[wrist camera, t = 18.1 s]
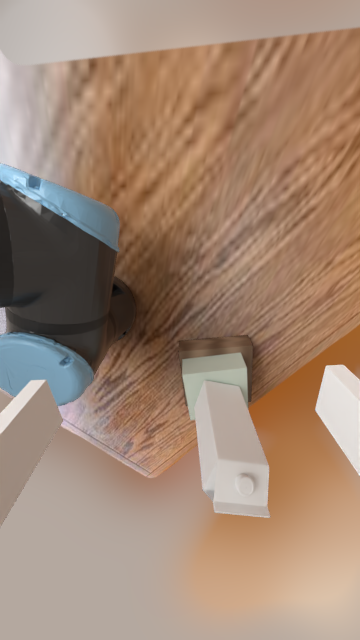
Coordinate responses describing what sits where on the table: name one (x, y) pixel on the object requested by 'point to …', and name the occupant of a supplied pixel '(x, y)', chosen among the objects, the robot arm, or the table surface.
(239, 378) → the tower top
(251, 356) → the tower base
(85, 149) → the table surface
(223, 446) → the milk carton
